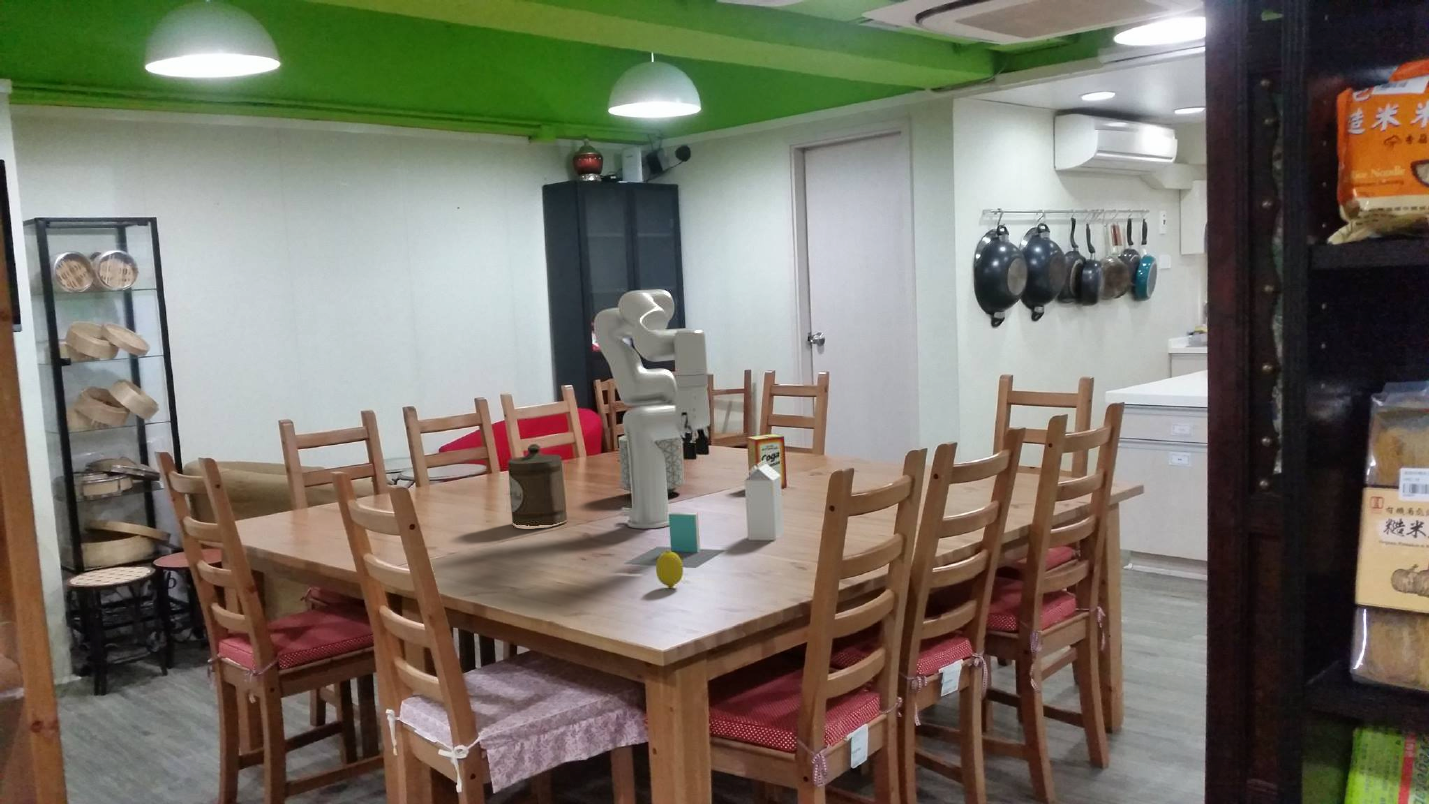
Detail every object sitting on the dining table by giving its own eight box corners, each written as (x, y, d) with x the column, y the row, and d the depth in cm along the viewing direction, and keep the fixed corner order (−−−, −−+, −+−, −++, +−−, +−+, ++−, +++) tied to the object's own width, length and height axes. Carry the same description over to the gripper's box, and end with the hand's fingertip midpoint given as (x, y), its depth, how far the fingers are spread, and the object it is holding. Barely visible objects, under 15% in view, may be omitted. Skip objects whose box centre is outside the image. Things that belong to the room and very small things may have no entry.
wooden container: (514, 520, 306) (508, 443, 304) (567, 516, 308) (562, 439, 306) (510, 531, 292) (504, 450, 289) (566, 527, 293) (560, 446, 291)
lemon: (657, 585, 229) (654, 548, 228) (683, 583, 230) (681, 546, 229) (657, 592, 224) (655, 554, 223) (684, 590, 224) (682, 552, 223)
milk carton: (784, 535, 268) (779, 459, 266) (776, 542, 261) (771, 463, 259) (756, 535, 270) (752, 459, 268) (747, 541, 264) (743, 464, 262)
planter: (683, 499, 322) (679, 438, 320) (619, 503, 323) (615, 442, 321) (686, 487, 341) (682, 430, 339) (625, 491, 342) (621, 433, 340)
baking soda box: (758, 491, 329) (755, 438, 327) (749, 487, 335) (746, 436, 333) (786, 487, 332) (784, 435, 330) (777, 484, 338) (775, 432, 336)
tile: (670, 551, 256) (667, 513, 255) (673, 549, 257) (671, 512, 256) (697, 553, 253) (694, 514, 252) (700, 551, 254) (697, 513, 253)
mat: (624, 566, 247) (624, 563, 247) (657, 549, 262) (657, 546, 262) (695, 570, 240) (695, 567, 240) (725, 552, 254) (725, 550, 254)
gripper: (693, 378, 269) (698, 451, 271) (661, 386, 253) (666, 462, 255) (721, 378, 266) (725, 451, 267) (690, 385, 250) (695, 463, 252)
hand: (696, 456), depth 261 cm, fingers open, 6 cm apart
